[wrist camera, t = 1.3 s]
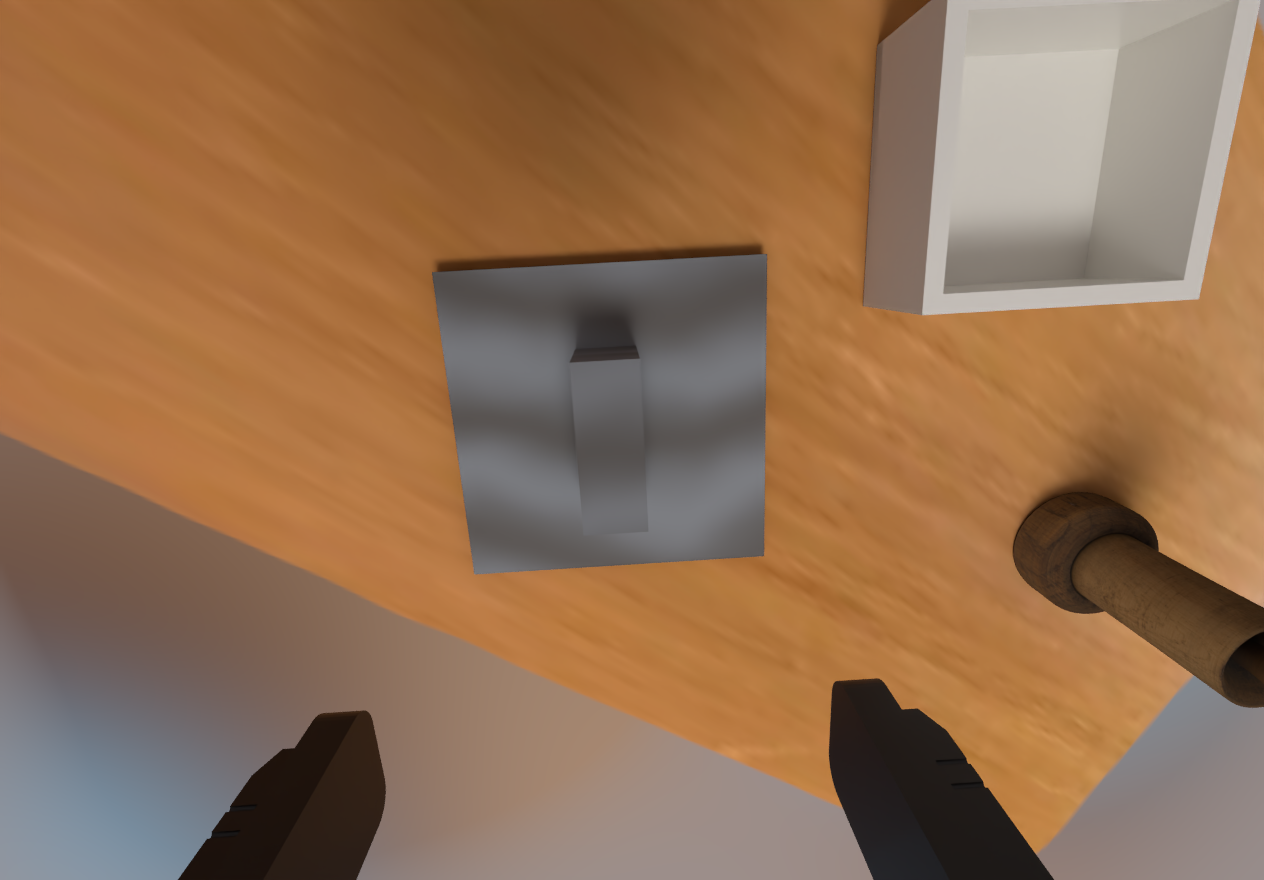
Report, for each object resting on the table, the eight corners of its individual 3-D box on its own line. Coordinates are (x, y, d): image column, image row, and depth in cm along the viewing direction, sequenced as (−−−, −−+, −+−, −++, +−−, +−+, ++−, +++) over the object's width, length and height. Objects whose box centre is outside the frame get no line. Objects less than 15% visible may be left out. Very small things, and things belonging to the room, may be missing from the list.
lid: (441, 272, 30) (399, 272, 24) (759, 254, 30) (794, 251, 24) (480, 560, 34) (453, 620, 28) (757, 543, 35) (786, 599, 29)
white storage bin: (877, 45, 27) (948, -15, 21) (1128, 32, 27) (1267, -31, 21) (863, 306, 30) (922, 315, 25) (1087, 293, 30) (1198, 299, 25)
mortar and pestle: (990, 571, 35) (1363, 870, 18) (1052, 474, 33) (1530, 698, 16) (1083, 608, 36) (1524, 927, 18) (1148, 515, 34) (1697, 769, 17)
